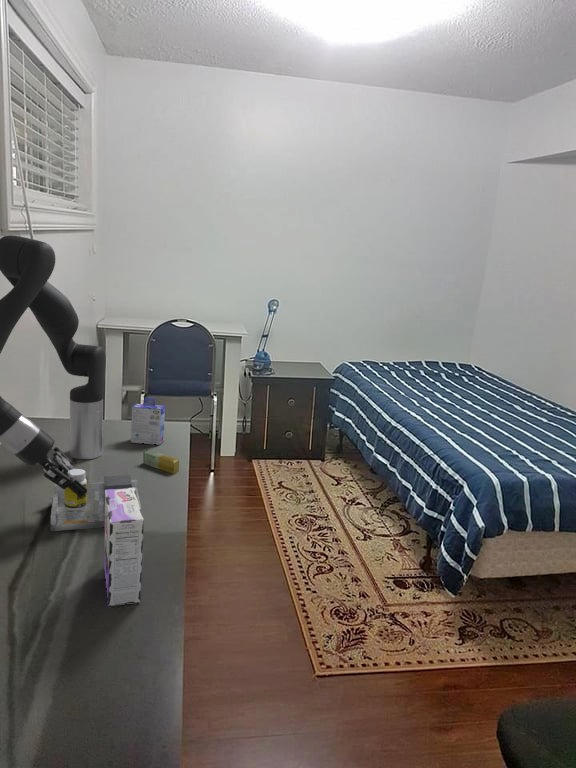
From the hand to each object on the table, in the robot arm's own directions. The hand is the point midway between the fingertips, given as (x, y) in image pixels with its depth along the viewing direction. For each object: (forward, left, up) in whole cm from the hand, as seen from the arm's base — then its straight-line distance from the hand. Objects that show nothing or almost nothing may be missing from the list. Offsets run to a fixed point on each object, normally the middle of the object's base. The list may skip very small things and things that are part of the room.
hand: (84, 488), depth 124 cm
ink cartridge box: (-51, +19, -7) cm, 55 cm away
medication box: (-28, +21, -7) cm, 36 cm away
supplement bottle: (0, -2, -4) cm, 5 cm away
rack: (-1, +3, -7) cm, 8 cm away
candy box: (+29, +7, -7) cm, 31 cm away
